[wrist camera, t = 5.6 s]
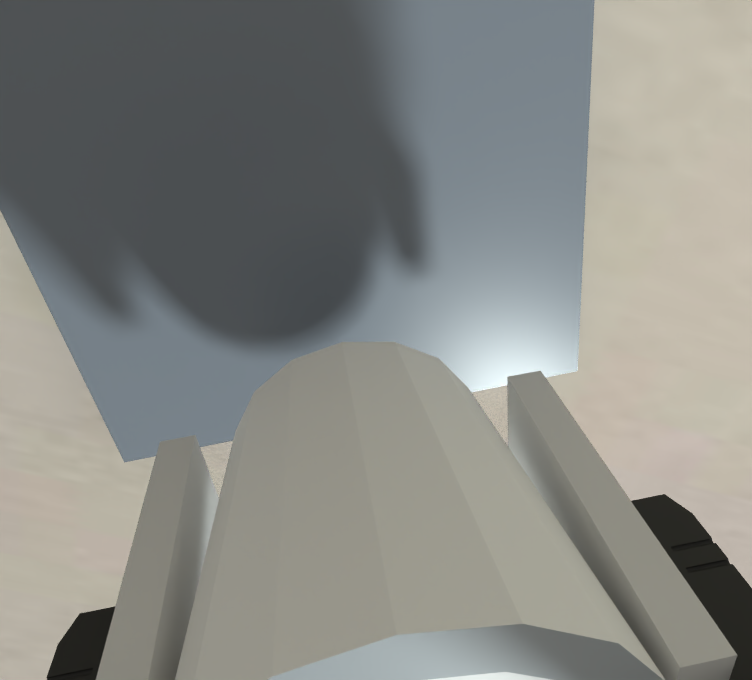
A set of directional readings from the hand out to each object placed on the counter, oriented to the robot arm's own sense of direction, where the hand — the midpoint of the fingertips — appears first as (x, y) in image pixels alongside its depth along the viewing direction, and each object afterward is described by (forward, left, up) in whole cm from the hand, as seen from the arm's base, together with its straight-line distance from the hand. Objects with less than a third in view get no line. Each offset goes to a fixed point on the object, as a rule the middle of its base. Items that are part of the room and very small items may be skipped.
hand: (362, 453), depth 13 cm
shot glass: (0, 0, 0) cm, 0 cm away
